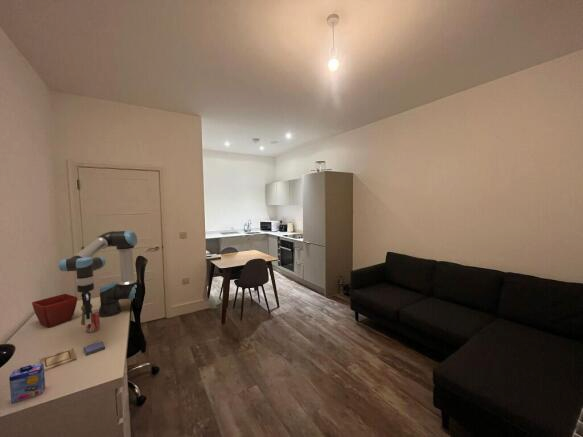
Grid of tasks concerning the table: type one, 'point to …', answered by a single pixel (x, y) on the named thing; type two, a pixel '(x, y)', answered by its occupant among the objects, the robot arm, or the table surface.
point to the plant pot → (55, 309)
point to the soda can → (96, 323)
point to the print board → (58, 359)
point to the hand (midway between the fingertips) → (87, 322)
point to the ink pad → (93, 348)
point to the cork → (84, 315)
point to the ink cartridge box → (27, 382)
